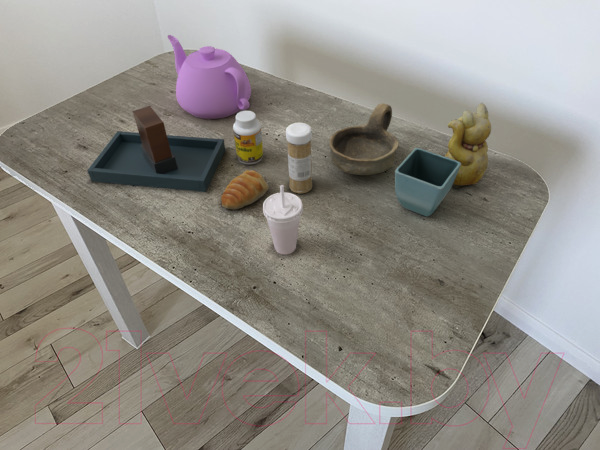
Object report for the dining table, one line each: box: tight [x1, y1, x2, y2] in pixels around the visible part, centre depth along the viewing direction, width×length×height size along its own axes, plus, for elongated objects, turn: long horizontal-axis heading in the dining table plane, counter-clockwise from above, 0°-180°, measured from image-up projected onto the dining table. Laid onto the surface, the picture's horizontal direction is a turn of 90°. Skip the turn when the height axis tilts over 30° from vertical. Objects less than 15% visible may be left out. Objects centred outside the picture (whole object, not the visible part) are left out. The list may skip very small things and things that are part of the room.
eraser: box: [132, 105, 178, 174], centre depth 96 cm, size 8×4×11 cm, turn 33°
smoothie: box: [262, 184, 304, 256], centre depth 78 cm, size 6×6×14 cm
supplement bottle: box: [232, 110, 264, 165], centre depth 98 cm, size 6×6×10 cm
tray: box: [87, 130, 226, 193], centre depth 99 cm, size 24×14×3 cm, turn 81°
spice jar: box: [285, 122, 313, 195], centre depth 89 cm, size 5×5×14 cm
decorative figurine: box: [444, 102, 492, 189], centre depth 90 cm, size 10×8×15 cm
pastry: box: [220, 169, 269, 210], centre depth 91 cm, size 9×7×4 cm
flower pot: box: [394, 147, 461, 218], centre depth 87 cm, size 9×9×9 cm
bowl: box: [328, 102, 400, 176], centre depth 96 cm, size 14×18×10 cm
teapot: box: [167, 34, 252, 120], centre depth 113 cm, size 25×18×14 cm
